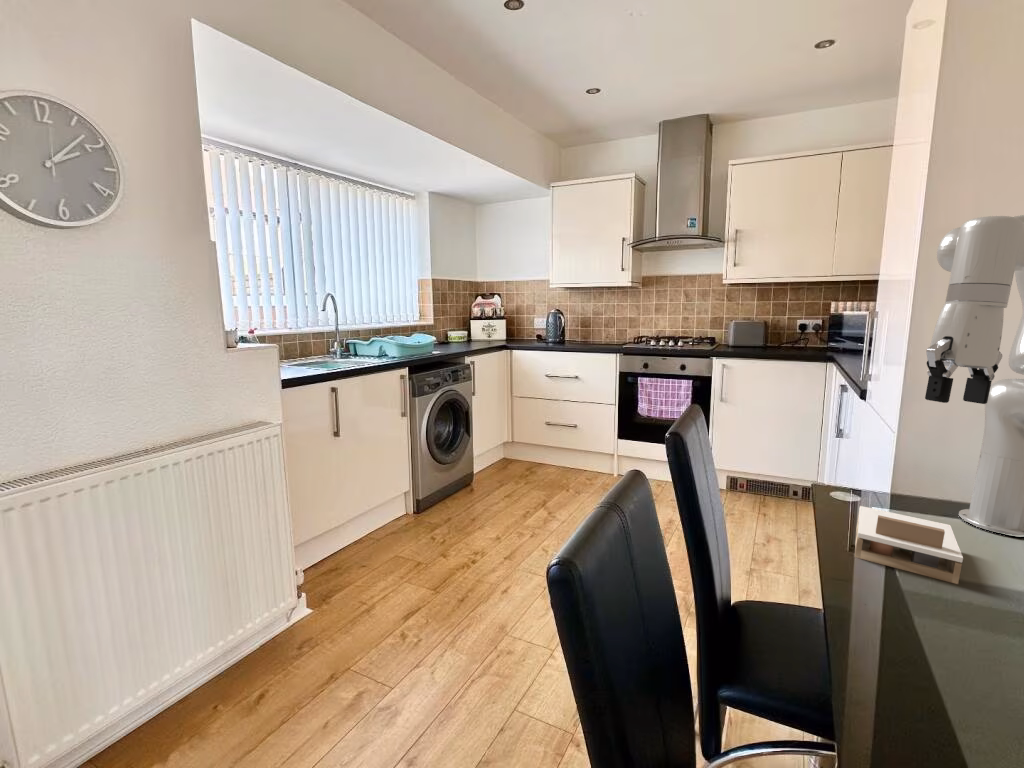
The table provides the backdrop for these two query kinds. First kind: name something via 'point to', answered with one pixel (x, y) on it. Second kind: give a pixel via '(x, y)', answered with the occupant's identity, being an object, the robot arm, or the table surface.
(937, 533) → the sliding lid
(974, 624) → the table surface
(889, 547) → the glossy peach egg
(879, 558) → the oak box
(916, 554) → the charcoal block
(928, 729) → the table surface
